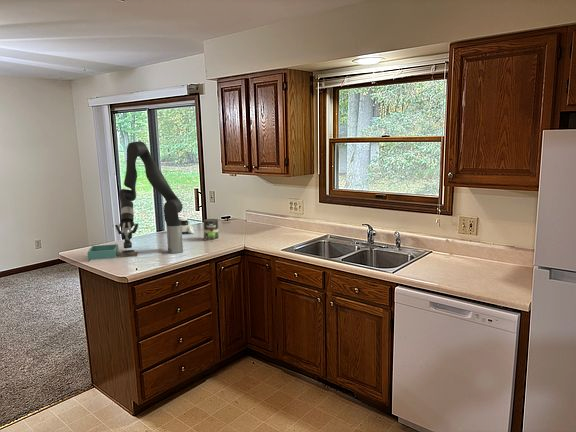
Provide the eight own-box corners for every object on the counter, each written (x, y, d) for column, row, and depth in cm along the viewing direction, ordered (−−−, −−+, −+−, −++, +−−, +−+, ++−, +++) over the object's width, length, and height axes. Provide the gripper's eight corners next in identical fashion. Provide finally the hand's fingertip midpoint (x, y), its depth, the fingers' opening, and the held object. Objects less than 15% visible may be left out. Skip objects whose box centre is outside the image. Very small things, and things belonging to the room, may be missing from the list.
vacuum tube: (132, 246, 264) (130, 227, 261) (131, 247, 259) (129, 228, 257) (124, 246, 262) (122, 227, 260) (123, 248, 258) (121, 229, 256)
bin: (118, 253, 269) (118, 244, 268) (115, 259, 255) (114, 250, 254) (93, 255, 266) (92, 245, 264) (88, 261, 251) (87, 251, 250)
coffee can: (219, 240, 301) (218, 220, 299) (204, 241, 299) (203, 221, 297) (218, 237, 311) (217, 218, 309) (204, 238, 309) (203, 219, 307)
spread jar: (177, 232, 330) (176, 217, 328) (192, 231, 334) (191, 216, 332) (179, 235, 319) (178, 220, 317) (195, 234, 323) (194, 218, 321)
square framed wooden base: (138, 253, 268) (138, 248, 268) (136, 258, 258) (136, 253, 257) (119, 255, 266) (119, 250, 265) (117, 259, 255) (117, 254, 255)
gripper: (114, 212, 263) (113, 236, 253) (138, 211, 266) (138, 234, 257) (116, 219, 269) (115, 243, 259) (139, 218, 272) (139, 241, 263)
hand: (126, 238), depth 258 cm, fingers closed on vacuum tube, 3 cm apart
